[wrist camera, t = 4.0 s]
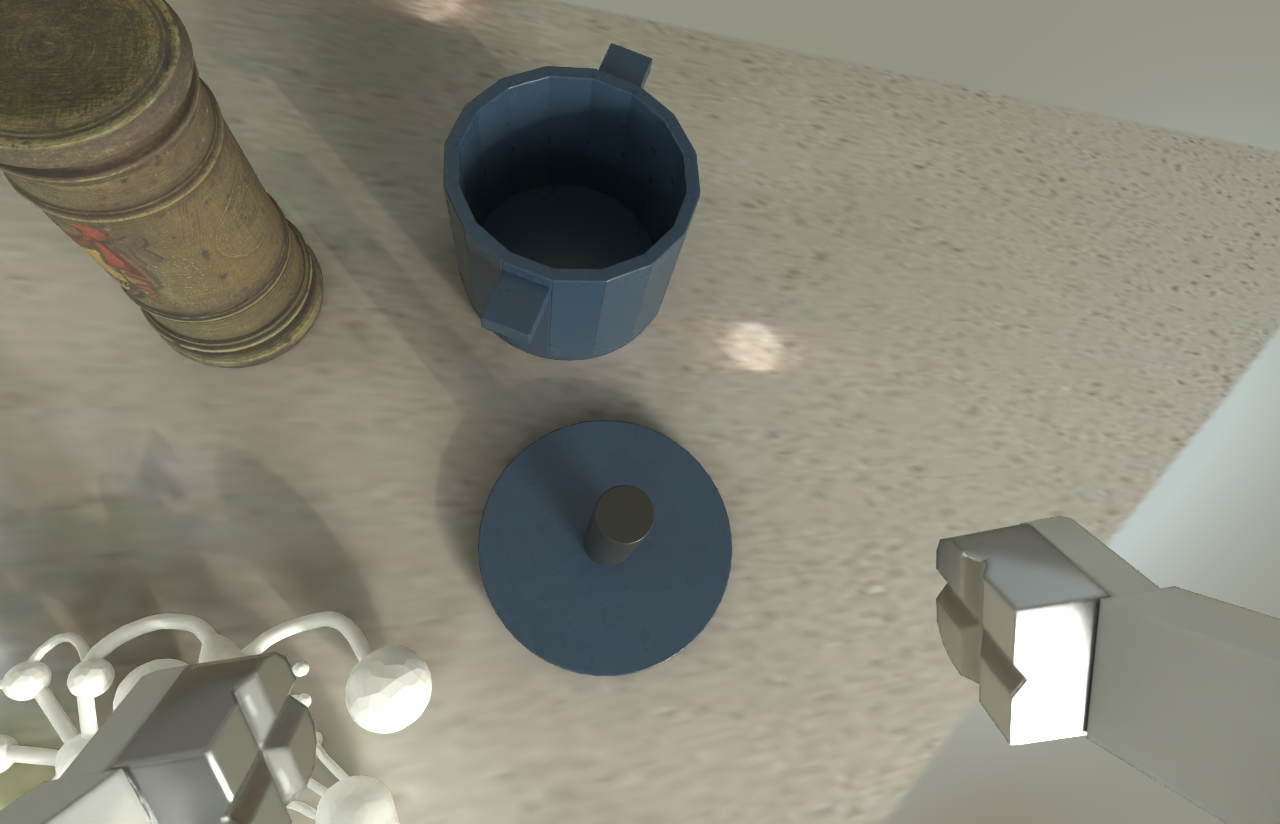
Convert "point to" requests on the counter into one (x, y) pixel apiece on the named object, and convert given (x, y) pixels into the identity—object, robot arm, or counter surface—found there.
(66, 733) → the tangled rod sculpture
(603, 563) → the lid
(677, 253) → the pot
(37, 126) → the container
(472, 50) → the counter surface
